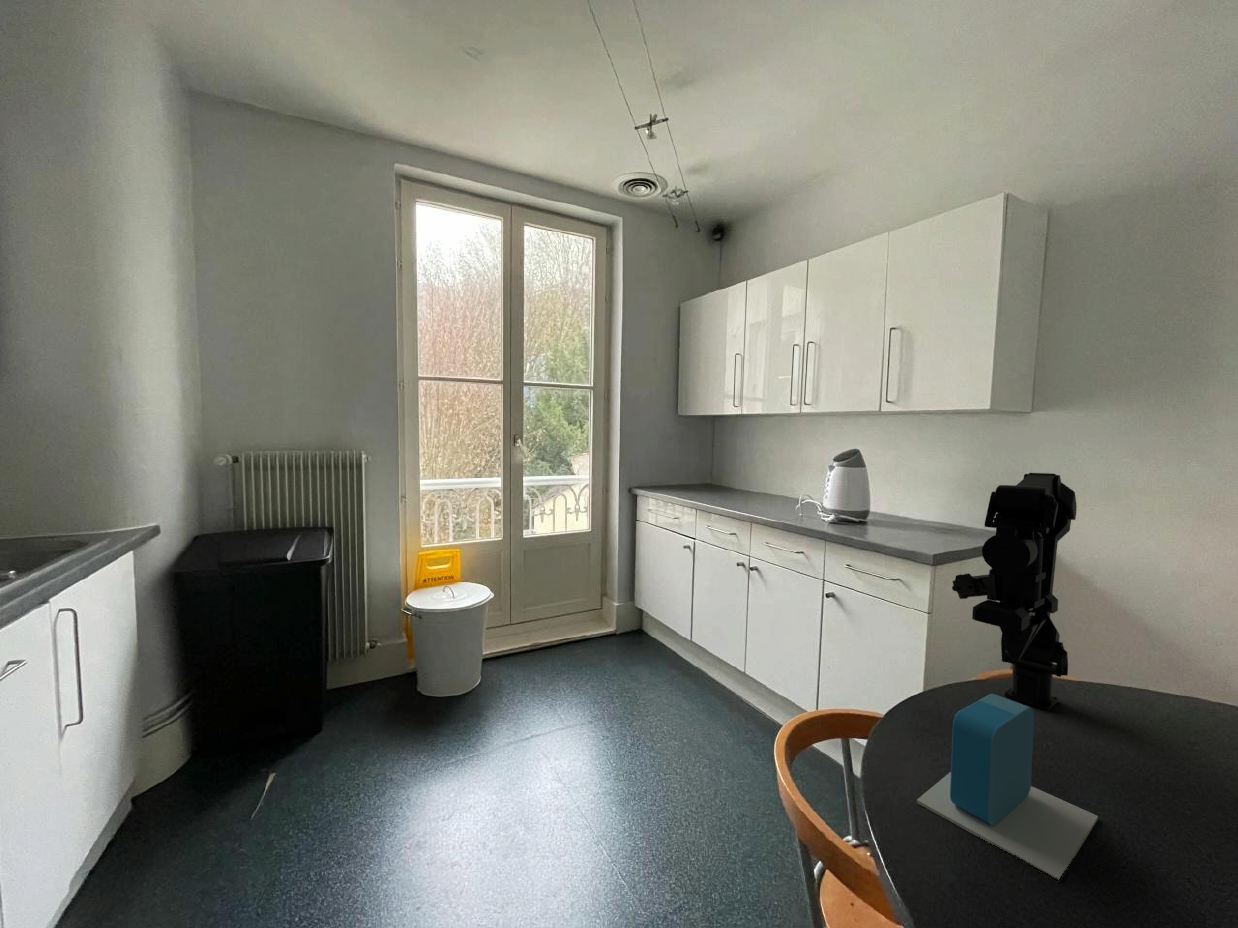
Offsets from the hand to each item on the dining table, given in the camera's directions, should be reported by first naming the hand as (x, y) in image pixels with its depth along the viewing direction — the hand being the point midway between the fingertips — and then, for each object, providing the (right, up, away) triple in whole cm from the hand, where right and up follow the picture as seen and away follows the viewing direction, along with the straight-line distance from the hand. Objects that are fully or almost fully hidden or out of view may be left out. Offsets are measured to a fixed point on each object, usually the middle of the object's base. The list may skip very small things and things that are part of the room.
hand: (1014, 659), depth 80 cm
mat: (-15, -12, -18) cm, 26 cm away
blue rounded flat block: (-16, -12, -16) cm, 26 cm away
